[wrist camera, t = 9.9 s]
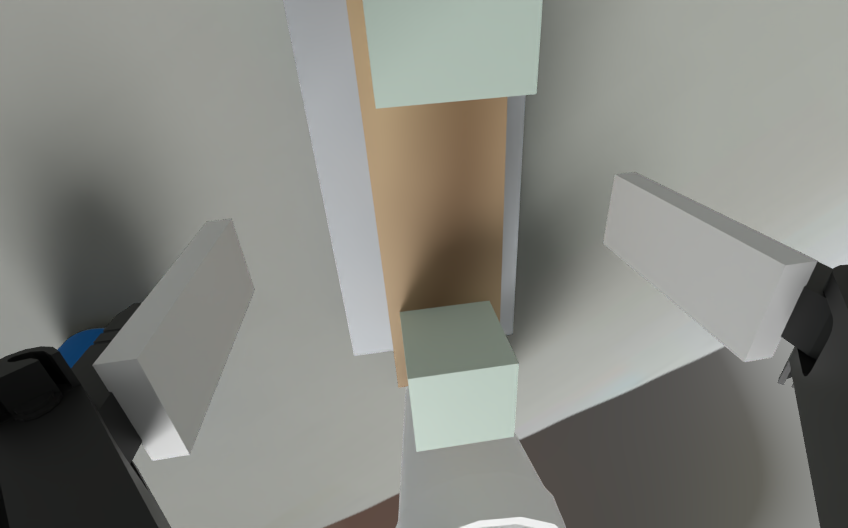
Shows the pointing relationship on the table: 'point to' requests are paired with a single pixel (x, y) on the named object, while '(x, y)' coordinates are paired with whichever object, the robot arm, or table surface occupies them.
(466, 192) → the tan wooden bar
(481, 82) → the block
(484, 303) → the block
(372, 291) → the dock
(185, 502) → the table surface
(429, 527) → the foam cup
